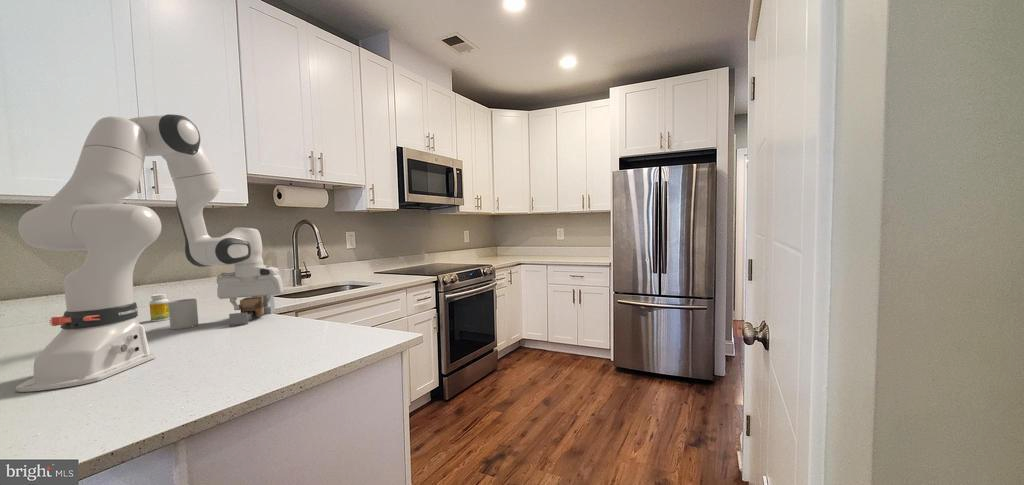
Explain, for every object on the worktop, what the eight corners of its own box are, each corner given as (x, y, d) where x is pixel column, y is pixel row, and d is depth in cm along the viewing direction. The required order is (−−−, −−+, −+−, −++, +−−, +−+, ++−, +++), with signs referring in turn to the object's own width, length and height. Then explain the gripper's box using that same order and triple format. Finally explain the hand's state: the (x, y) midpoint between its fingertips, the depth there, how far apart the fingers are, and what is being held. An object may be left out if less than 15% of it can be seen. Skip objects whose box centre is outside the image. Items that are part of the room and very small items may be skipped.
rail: (247, 324, 126) (246, 312, 126) (230, 326, 125) (229, 314, 125) (264, 314, 142) (263, 303, 141) (249, 315, 140) (248, 305, 140)
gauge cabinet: (270, 313, 143) (269, 292, 142) (252, 315, 141) (251, 294, 141) (274, 310, 147) (273, 290, 146) (257, 312, 145) (255, 292, 145)
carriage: (258, 317, 135) (257, 298, 135) (241, 318, 134) (239, 300, 134) (264, 313, 141) (263, 296, 141) (248, 315, 140) (246, 297, 139)
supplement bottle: (151, 320, 140) (149, 294, 139) (171, 317, 143) (168, 292, 143) (150, 322, 136) (147, 296, 135) (170, 319, 139) (167, 294, 139)
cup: (171, 331, 122) (168, 303, 122) (169, 326, 129) (166, 300, 129) (199, 326, 127) (197, 300, 127) (196, 321, 134) (194, 297, 134)
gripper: (211, 274, 131) (215, 313, 132) (277, 270, 136) (280, 307, 137) (220, 272, 137) (223, 309, 138) (283, 268, 142) (286, 304, 143)
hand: (252, 308), depth 137 cm, fingers open, 8 cm apart
